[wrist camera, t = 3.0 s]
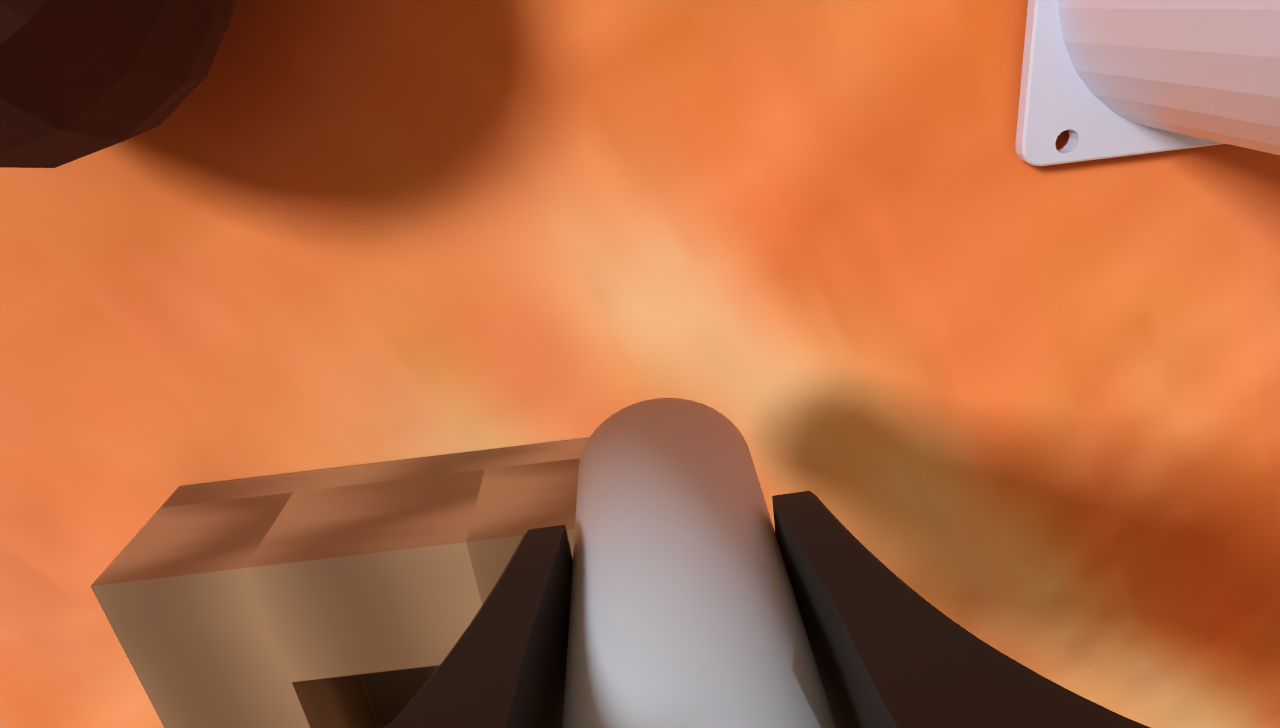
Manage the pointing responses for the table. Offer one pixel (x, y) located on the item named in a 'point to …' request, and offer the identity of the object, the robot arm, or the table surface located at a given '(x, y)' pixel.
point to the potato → (97, 71)
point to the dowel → (681, 584)
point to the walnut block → (324, 583)
